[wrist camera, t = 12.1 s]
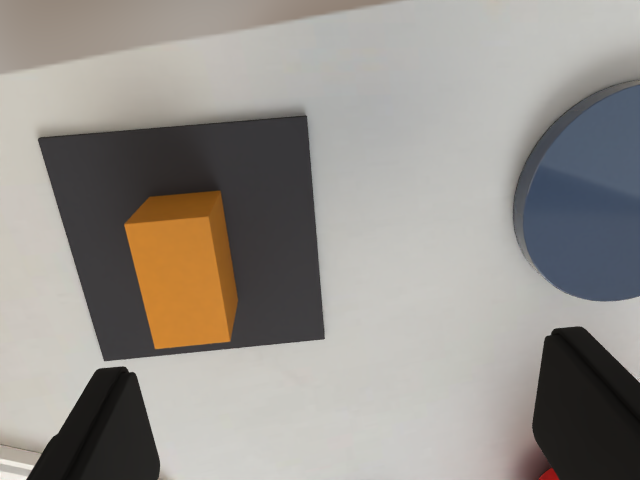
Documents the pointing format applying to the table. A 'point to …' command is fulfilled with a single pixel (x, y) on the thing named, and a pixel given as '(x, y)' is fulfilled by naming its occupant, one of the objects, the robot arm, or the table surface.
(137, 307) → the mat
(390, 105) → the table surface
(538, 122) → the table surface
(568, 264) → the plate
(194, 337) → the block
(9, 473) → the tray
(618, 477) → the robot arm
